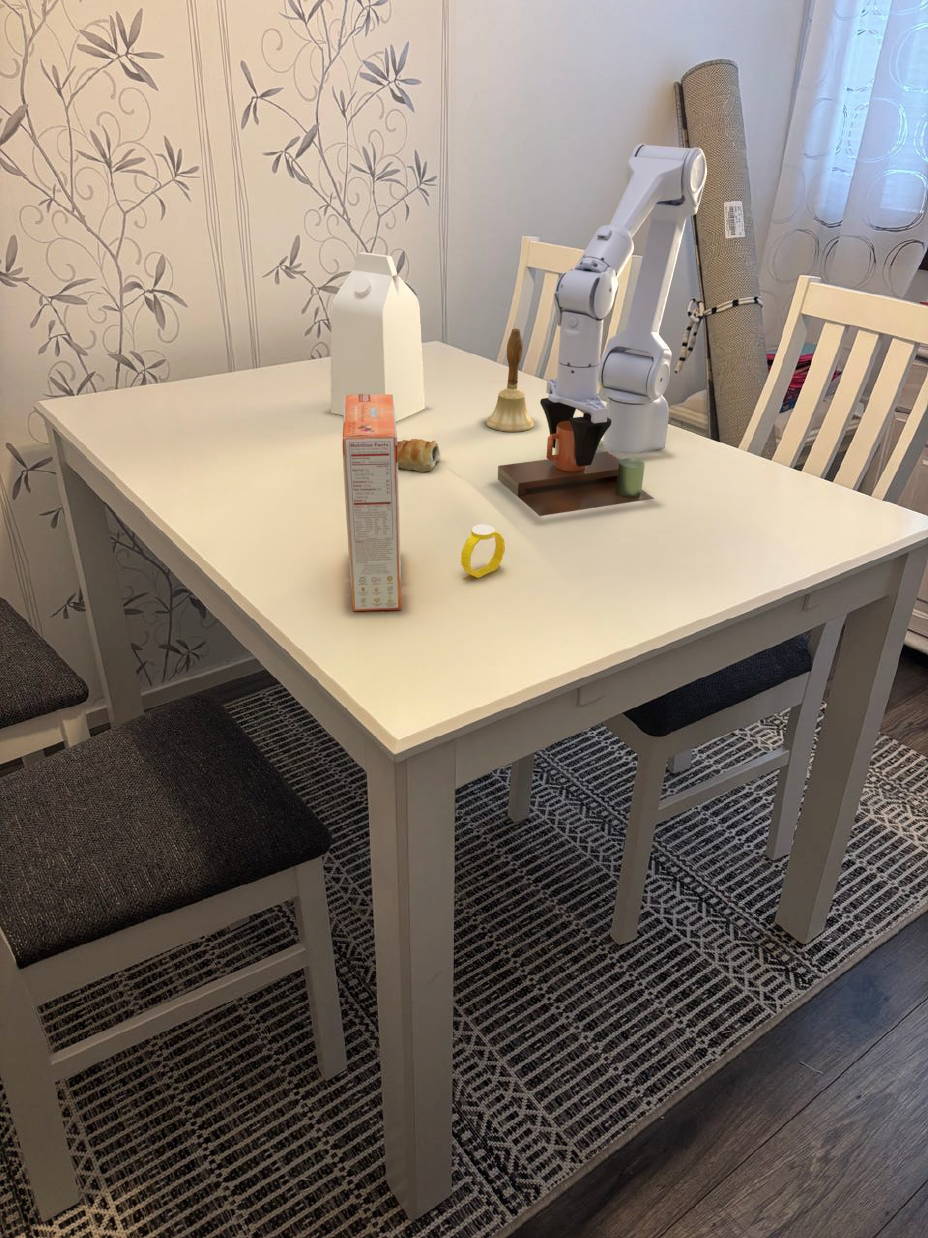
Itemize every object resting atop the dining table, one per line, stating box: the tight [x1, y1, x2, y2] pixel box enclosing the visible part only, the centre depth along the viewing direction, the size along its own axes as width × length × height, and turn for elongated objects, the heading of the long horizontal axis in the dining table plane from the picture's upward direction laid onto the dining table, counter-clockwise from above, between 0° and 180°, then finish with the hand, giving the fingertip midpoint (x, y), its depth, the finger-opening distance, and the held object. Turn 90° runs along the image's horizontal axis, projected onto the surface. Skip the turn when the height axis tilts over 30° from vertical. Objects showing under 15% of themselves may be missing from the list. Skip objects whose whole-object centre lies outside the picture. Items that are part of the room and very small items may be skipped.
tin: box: [616, 457, 646, 497], centre depth 137 cm, size 4×4×4 cm
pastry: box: [397, 438, 441, 473], centre depth 148 cm, size 9×7×4 cm
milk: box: [330, 251, 426, 423], centre depth 164 cm, size 12×12×26 cm
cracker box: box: [342, 394, 403, 612], centre depth 110 cm, size 14×6×21 cm, turn 5°
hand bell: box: [485, 328, 535, 433], centre depth 161 cm, size 8×8×16 cm
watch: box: [460, 524, 506, 579], centre depth 116 cm, size 6×3×6 cm, turn 132°
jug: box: [545, 421, 587, 472], centre depth 139 cm, size 7×5×6 cm
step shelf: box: [497, 451, 655, 517], centre depth 139 cm, size 18×14×3 cm
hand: (571, 455), depth 140 cm, fingers open, 7 cm apart
